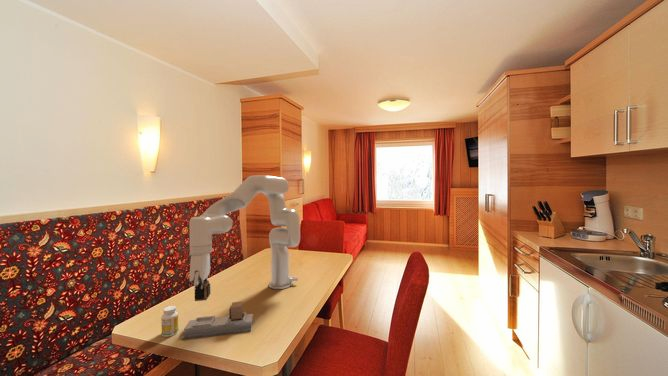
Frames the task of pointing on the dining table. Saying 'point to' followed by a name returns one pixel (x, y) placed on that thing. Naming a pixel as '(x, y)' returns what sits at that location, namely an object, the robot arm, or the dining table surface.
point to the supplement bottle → (169, 321)
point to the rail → (220, 324)
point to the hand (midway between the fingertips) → (201, 295)
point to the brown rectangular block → (205, 290)
